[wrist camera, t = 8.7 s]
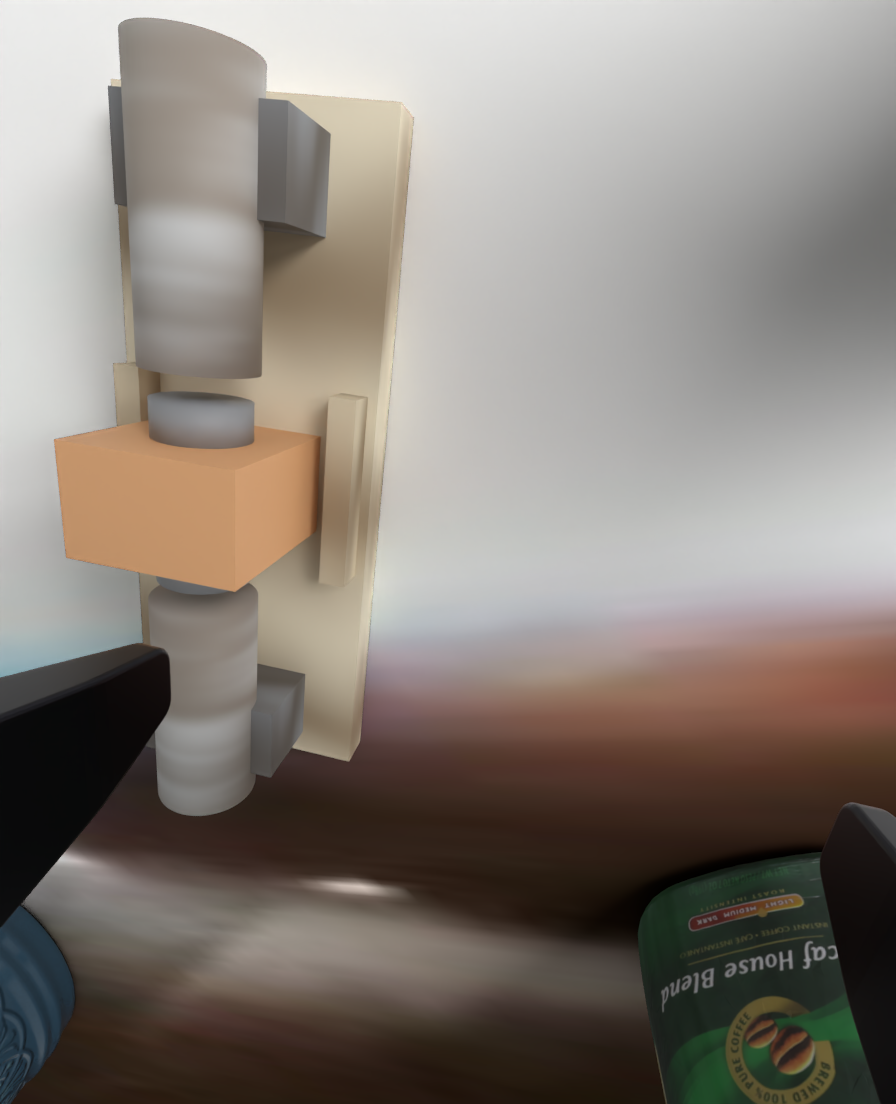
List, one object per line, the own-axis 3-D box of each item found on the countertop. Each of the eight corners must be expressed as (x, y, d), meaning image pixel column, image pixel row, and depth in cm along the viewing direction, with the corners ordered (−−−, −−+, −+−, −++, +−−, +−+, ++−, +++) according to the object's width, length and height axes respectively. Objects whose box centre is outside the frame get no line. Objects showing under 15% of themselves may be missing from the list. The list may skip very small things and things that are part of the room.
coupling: (179, 380, 19) (49, 395, 14) (322, 402, 18) (234, 425, 14) (183, 535, 21) (69, 593, 16) (314, 560, 20) (235, 628, 16)
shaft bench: (140, 94, 18) (-24, 7, 13) (413, 117, 17) (345, 30, 12) (166, 696, 25) (66, 783, 20) (360, 741, 24) (303, 846, 19)
